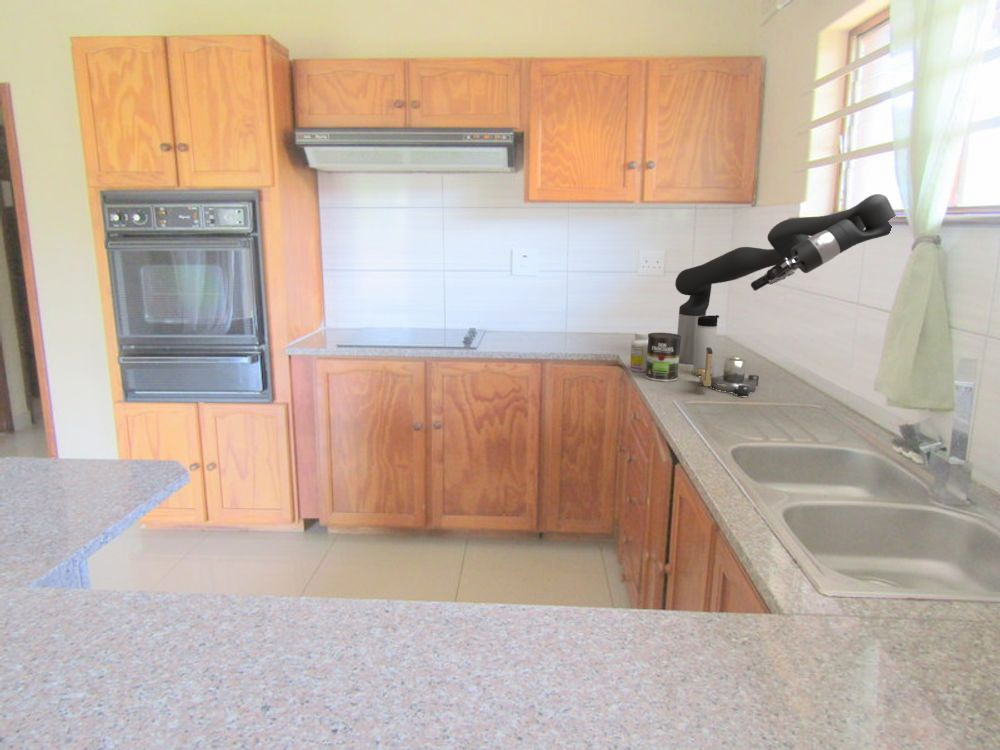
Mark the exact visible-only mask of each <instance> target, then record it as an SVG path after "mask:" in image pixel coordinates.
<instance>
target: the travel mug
mask: <svg viewBox="0 0 1000 750" xmlns="http://www.w3.org/2000/svg"><path fill="white" fill-rule="evenodd" d="M719 318H720V316H719V315H718V314H715V315H706V316H701V317H698V323H697V332H696V344H695V356H694V364H693V371H692V375H693V374H694V375H693V376H695V375H696V370H697V368H705V363H706V352H707V350H706V348H711V349H712V351H713V353H712V360H711V377H713V376H712V375H714V364H715V355H716V354H715V353H716V342H717V333H718V319H719ZM695 377H698V376H697V375H696V376H695Z"/></svg>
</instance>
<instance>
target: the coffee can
mask: <svg viewBox="0 0 1000 750" xmlns="http://www.w3.org/2000/svg"><path fill="white" fill-rule="evenodd" d="M680 342H681V336H680V335H677V333H671V332H650V333H649V334H648V349H647V364H646V372H645V378H646V379H648V380H650V381H653V382H661V381H663V383H667V382H669V381H671V382H676V381H677V380H678V376H679V375H678V374H679V365H680V364H679V363H680V362H679V354H680ZM675 380H676V381H675ZM669 383H670V382H669Z"/></svg>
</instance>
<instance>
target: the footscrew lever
mask: <svg viewBox="0 0 1000 750" xmlns="http://www.w3.org/2000/svg"><path fill="white" fill-rule="evenodd" d="M706 350H707V352H706V363H705V368H697V370H696V375H697V376H696V377H698V376H701V379H702V382H703V385H704V386H703V387H708V386H711V379H710V378H711V377H712V376H711V360H712V353H713V351H712V349H711V348H706ZM710 376H711V377H710Z"/></svg>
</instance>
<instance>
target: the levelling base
mask: <svg viewBox="0 0 1000 750" xmlns="http://www.w3.org/2000/svg"><path fill="white" fill-rule="evenodd" d="M746 363H747V360H746V359H745V358H742V357H741V356H738V355H734V356H733V355H731V356H730V357H726V358H724V365H723V374H722V375H716V376H715V375H714V376H711V377H710V379H711V387H712V388H714V389H717V390H721V391H726V392H733V393H735V394H737V395H738V396H748V397H749V393H750V392H753V393H755V392H756V386H757V387H758V385H759V379H760V377H759V375H755V374H749V375H748V377H745V374H746ZM699 384H701V385H703V382H702V379H701V377H699ZM701 385H700V386H701ZM711 387H710V388H711ZM712 388H711V389H712ZM754 391H755V392H754ZM735 394H734V395H735ZM750 394H751V393H750ZM738 396H737V397H738Z"/></svg>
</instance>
